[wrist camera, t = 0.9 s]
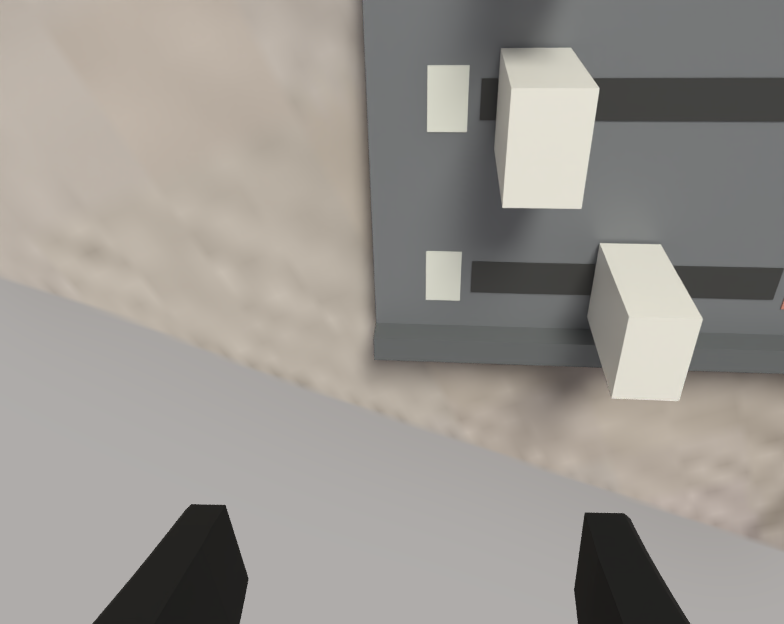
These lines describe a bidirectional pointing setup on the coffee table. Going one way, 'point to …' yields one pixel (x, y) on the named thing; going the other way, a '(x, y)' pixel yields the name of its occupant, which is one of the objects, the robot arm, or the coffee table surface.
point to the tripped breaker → (642, 322)
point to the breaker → (543, 127)
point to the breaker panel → (603, 181)
